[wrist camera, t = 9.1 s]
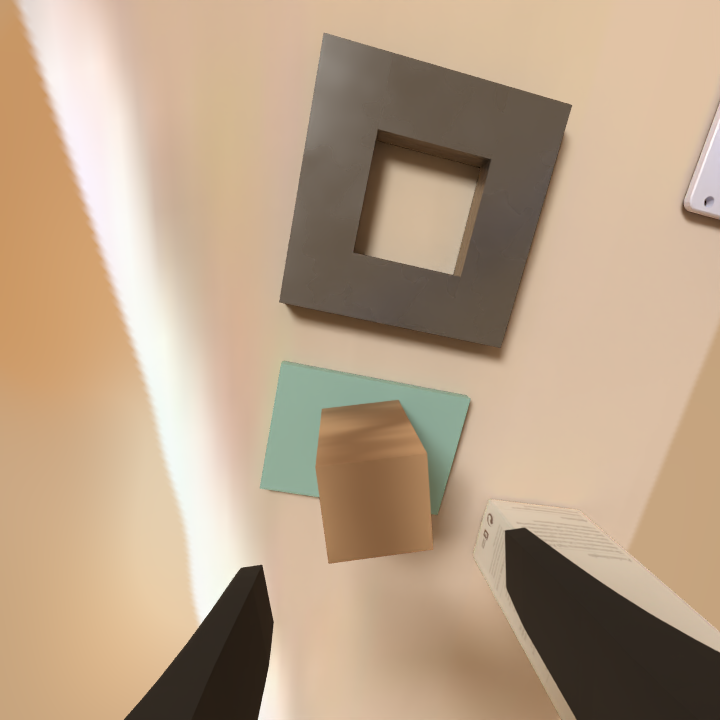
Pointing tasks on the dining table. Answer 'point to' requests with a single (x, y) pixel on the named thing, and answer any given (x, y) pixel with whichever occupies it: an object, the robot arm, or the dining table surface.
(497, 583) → the skincare box
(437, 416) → the mat
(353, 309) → the socket plate
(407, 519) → the brown block
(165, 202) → the dining table surface
